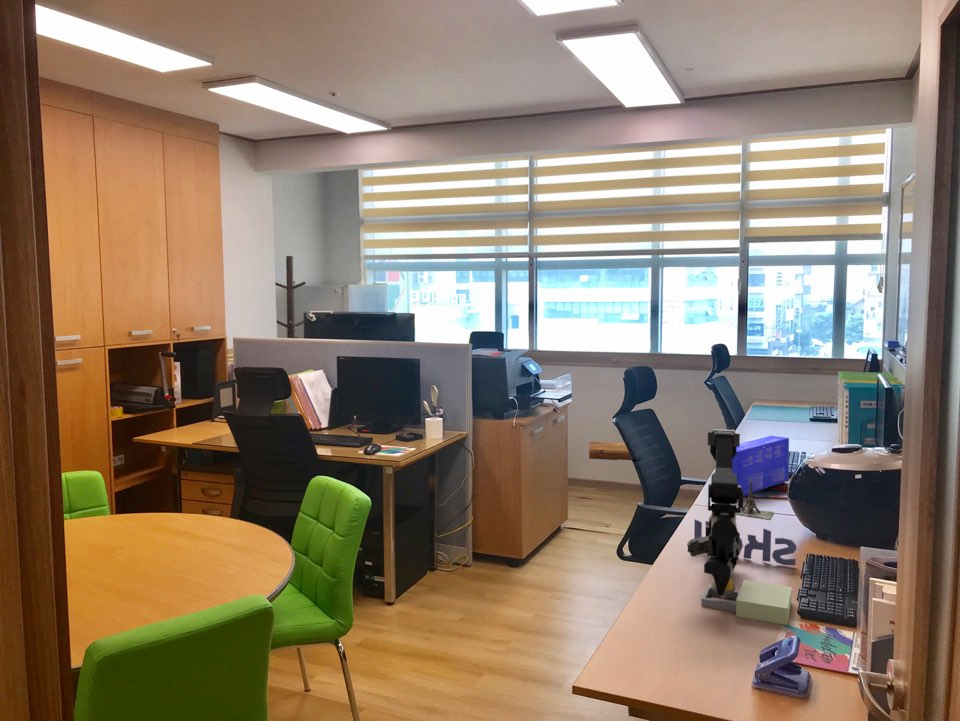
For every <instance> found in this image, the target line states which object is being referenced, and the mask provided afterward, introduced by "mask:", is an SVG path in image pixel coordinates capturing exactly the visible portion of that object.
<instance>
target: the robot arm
mask: <svg viewBox="0 0 960 721" xmlns="http://www.w3.org/2000/svg"><path fill="white" fill-rule="evenodd" d="M740 437H741V433H736V430H735V429H724V428H723V429H721V428H712V430H711V431H710V432H707V446H709V452H710V455H711V456H712V458H713V459H714V461H715V464H714V466H715V467H714V468H715V469H714V470H715V471H714V472H713V473H712V474H711V479H710V480H711V483H708V484H707V485H708V488H707V489H708V491H707V497H708V498H707V511H709V512H711V515H710V516H709V518H708V522H709V526H706V525H705V535H706V536H705V535H704V536H702V537H700V538H695V539H694V538H692V539H691V538H690V540H689V541H688V542H687V544H686V545H687V546H686V547H687V552H688V553H689V555H690V557H697V556H698V555H704V554H707V556H709V558H707V559H706V560H705V562H704V564H703V573H704V574H709V575H712V577H713V582H714V581H715V585H716V589H717V593H718V595H723V593H724V591H725V589H726V586H727V584H728V582H729V580H730V577H731V578H732V575H733V572H734V570H735V568H736V565H737V564H738V563H737V562H738V560H739V558H738V557H740V555H741V552H740V545H739V538H741V537H740V532H739V531H738V527H737V521H736V520H737V517H736V516H737V515H736V513H741V509H742V508H743V506H744V496H743V490H742V489H741V486H738V478H737V476H736V475H735V474H734V473H733V472H732V459H733V458H734V456H735V455H736V452H737V447H740V443H741V441H740V440H741V438H740ZM735 554H736V556H738V557H734V556H735Z"/></svg>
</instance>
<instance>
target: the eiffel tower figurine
mask: <svg viewBox="0 0 960 721" xmlns="http://www.w3.org/2000/svg"><path fill="white" fill-rule="evenodd" d="M753 494H754V493H753V492H752V479H751V480H750V490H749V494H748V497H747V499H746V502H745V503H744V504H743V508H741V513H736V516H746V517H751V518H752V517H753V518H759V519H765V520H771V519H772V517H773V514H774V511H771V510H759V508H758V507H757V504H756V502H755V500H754V495H753Z"/></svg>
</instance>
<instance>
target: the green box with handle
mask: <svg viewBox="0 0 960 721" xmlns="http://www.w3.org/2000/svg"><path fill="white" fill-rule="evenodd" d="M704 590H705V591H704V592H703V595H702V596H701V599H700V605H701V606H703V607H708V608H713V609H719V610H725V611H729V612H735V617H738V618H742V619H743V618H745V619H750V620H754V621H755V620H757V621H761V622H766V623H773V624H779V625H784V626H788V624H789V618H790V612H791V607H792V601H793V600H792V598H793V597H792V596H793V595H792V594H793V593H792V592H793V587H791V586H785V585H780V584H772V583H766V582H759V581H753V580H746V579H743V582H742V584H741V585H740V590H738V591H737V590H735V592H734V593H732V594H727V598H726V599H733V600H735V601H734V602H731V601H727V600H726V601H725V600H719V599H713V598H710V596H715V597H721V595H718V593H717V591H715V590H714V589H713V588H712V586H706V588H705V589H704ZM721 598H722V597H721Z"/></svg>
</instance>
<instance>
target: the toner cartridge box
mask: <svg viewBox="0 0 960 721" xmlns="http://www.w3.org/2000/svg"><path fill="white" fill-rule="evenodd" d="M789 452H790V438H789V437H784V436H776V435H775V436H774V435H767V436H763V437H760V438H755V439H752V440H748V441H745V442H744V441H743V442H740V447H737V452H736V455H735V456H734V458H733V459H732V472H733V473H734V474H735V475H736V476H737V478H738V486H741V489H742V490H743V497H745V496H746V497H747V495H748V496H749V490H750V480H751V479H752V492H753V494H754V493H757V492H758V493H759V492H761V491H764V490H767V489H769V488H771V486H772V487H775V486H777V485H780V484H783V483H786V482H789V480H790V479H789V477H790V476H789V475H790V474H789V472H790V470H789V468H790V467H789V466H790V465H789V463H790V457H789V456H790V453H789ZM768 487H769V488H768Z"/></svg>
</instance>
